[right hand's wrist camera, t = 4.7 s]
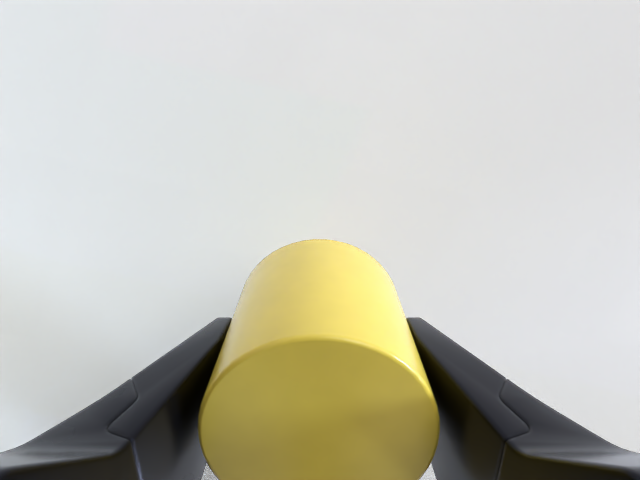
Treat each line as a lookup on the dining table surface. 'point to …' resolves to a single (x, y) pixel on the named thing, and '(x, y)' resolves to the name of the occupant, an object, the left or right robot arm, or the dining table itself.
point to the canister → (318, 375)
